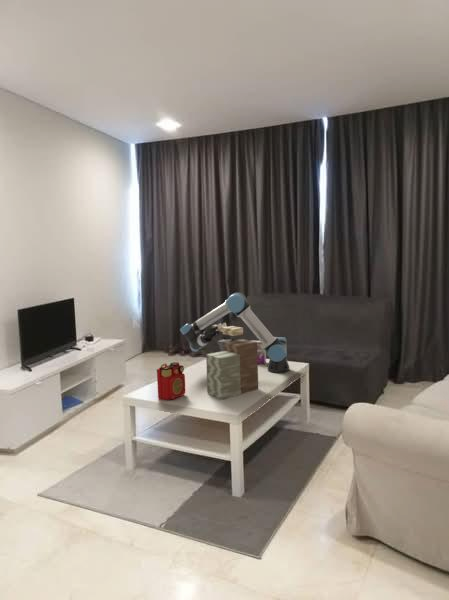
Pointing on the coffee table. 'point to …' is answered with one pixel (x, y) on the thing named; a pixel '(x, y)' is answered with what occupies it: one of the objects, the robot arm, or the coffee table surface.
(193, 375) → the coffee table surface
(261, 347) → the candy bar box
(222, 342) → the coffeepot
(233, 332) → the light wooden block
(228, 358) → the stand
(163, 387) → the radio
